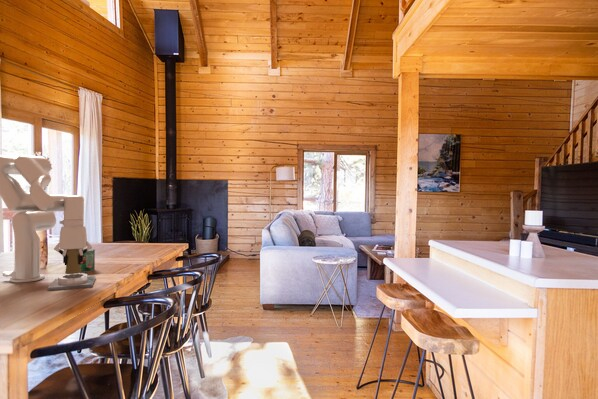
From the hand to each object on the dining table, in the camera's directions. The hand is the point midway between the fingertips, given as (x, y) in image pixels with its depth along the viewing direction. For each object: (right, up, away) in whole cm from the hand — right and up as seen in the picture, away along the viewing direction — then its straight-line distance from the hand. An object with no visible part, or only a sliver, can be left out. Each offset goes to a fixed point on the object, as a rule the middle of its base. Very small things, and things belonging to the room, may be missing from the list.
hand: (73, 263), depth 157 cm
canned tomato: (-10, -9, +26) cm, 30 cm away
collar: (0, -9, 0) cm, 9 cm away
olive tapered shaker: (0, -4, 0) cm, 4 cm away
